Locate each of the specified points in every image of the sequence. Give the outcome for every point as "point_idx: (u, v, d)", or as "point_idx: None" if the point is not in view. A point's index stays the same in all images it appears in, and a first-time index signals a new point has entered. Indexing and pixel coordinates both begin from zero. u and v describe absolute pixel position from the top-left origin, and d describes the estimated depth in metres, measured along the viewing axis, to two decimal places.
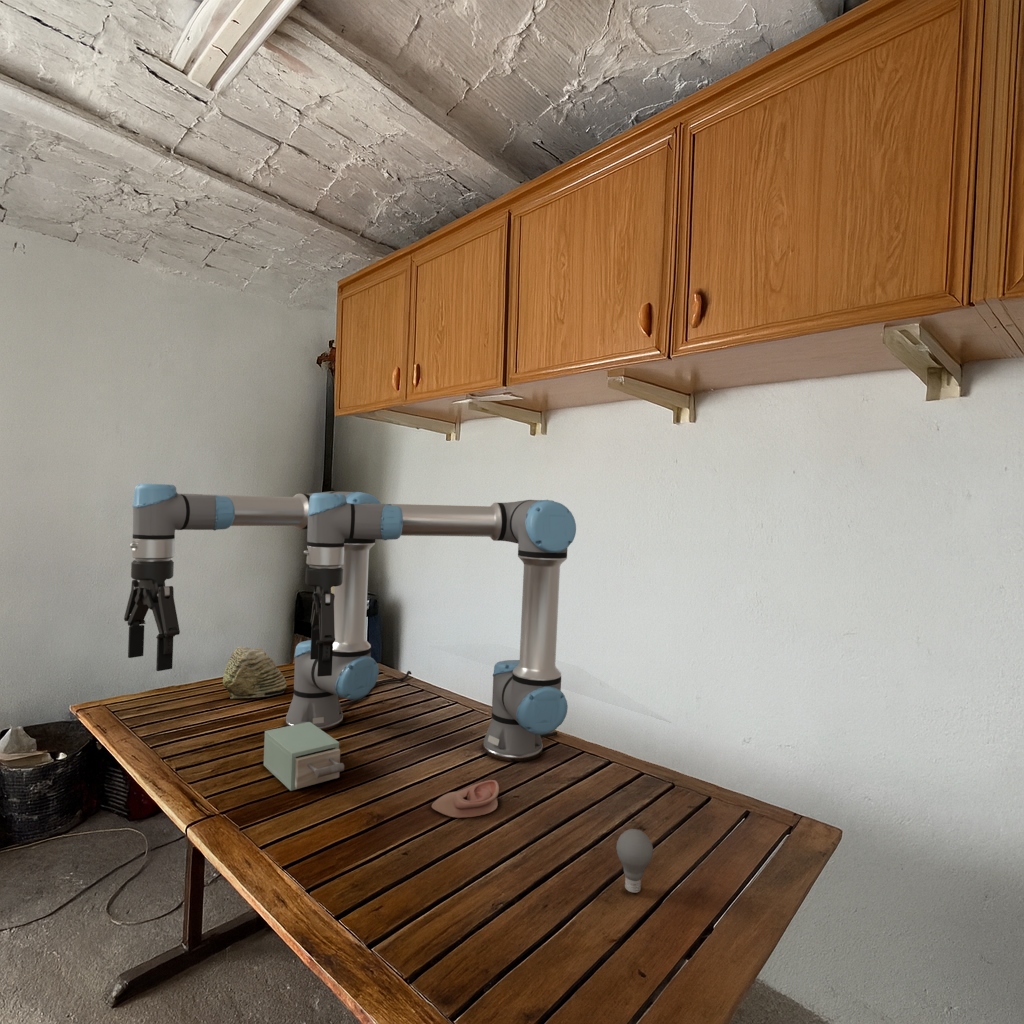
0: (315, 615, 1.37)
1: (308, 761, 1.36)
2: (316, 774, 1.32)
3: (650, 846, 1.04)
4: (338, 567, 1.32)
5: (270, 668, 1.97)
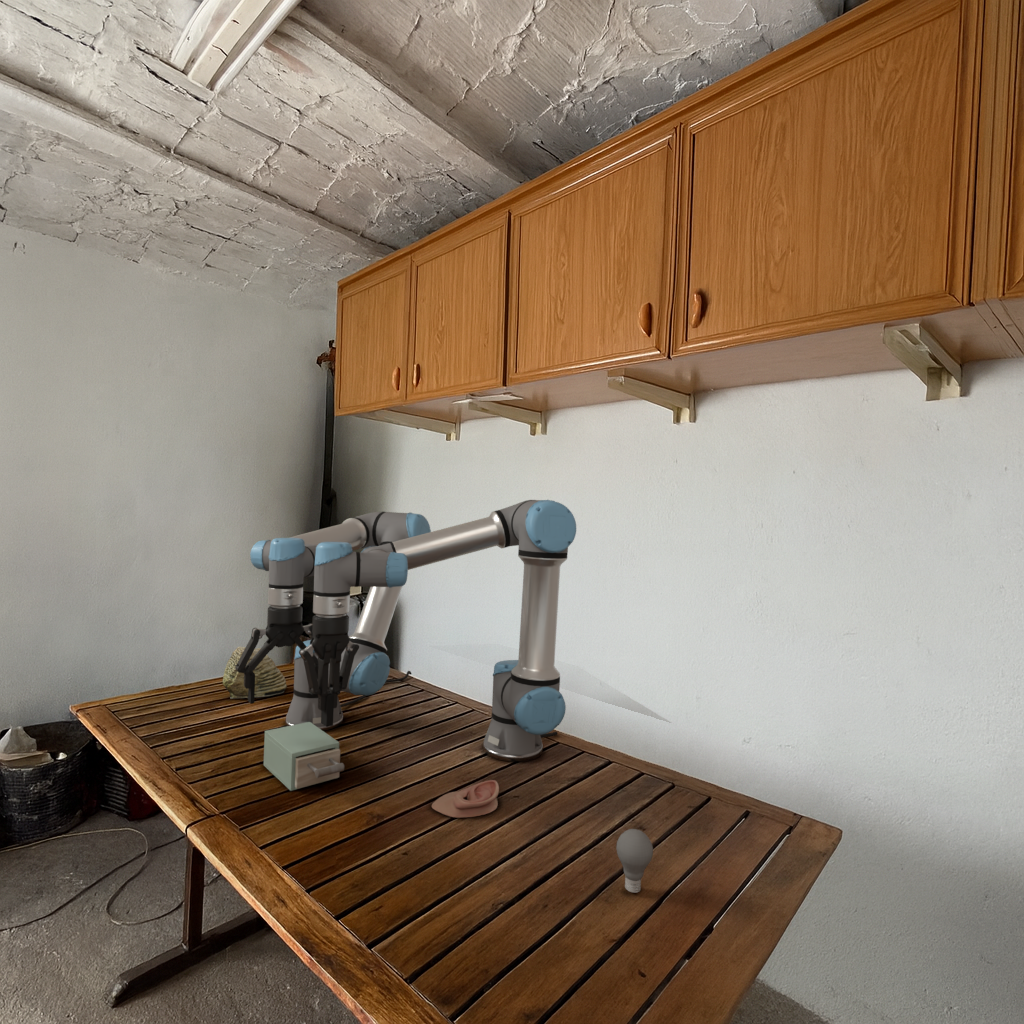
0: None
1: (308, 761, 1.36)
2: (316, 774, 1.32)
3: (650, 846, 1.04)
4: None
5: (270, 668, 1.97)
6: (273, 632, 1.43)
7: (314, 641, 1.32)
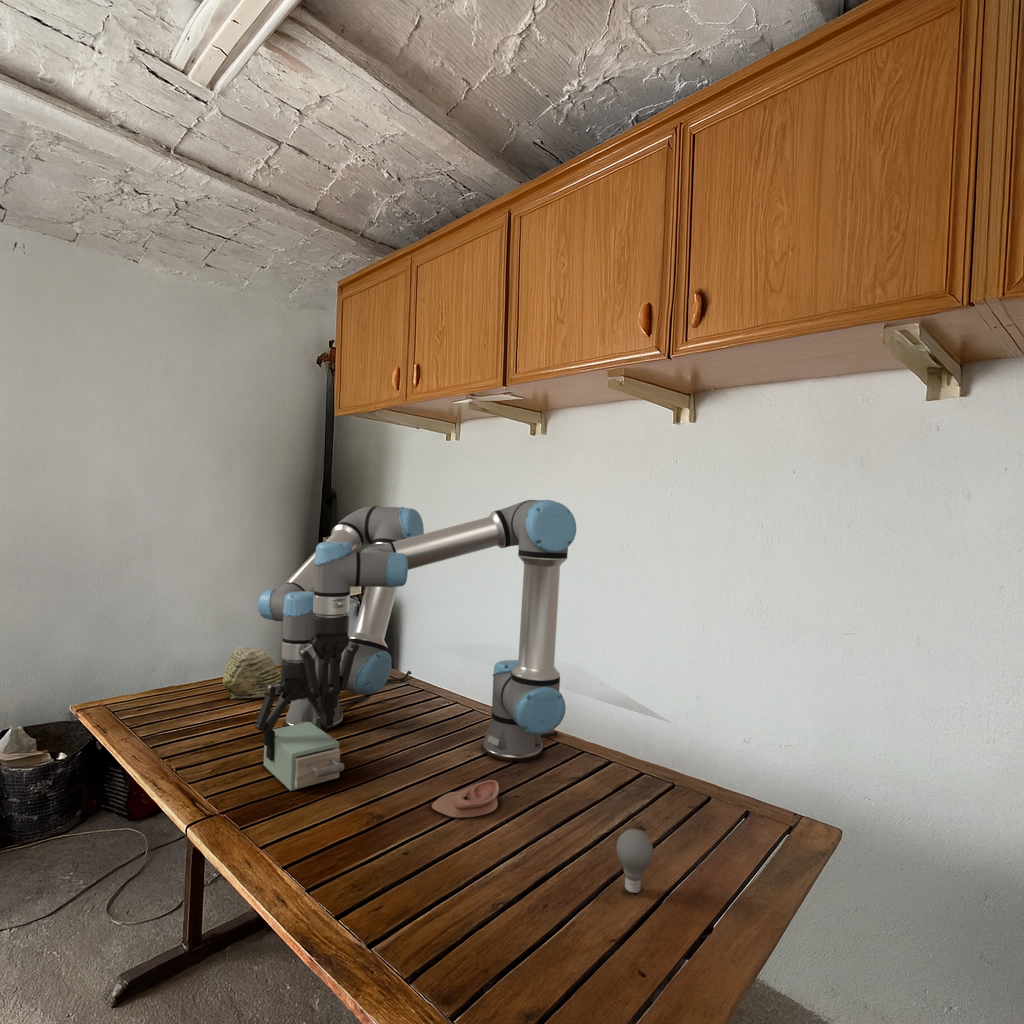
0: None
1: (308, 761, 1.36)
2: (316, 774, 1.32)
3: (650, 846, 1.04)
4: None
5: (270, 668, 1.97)
6: (288, 686, 1.45)
7: (314, 641, 1.32)
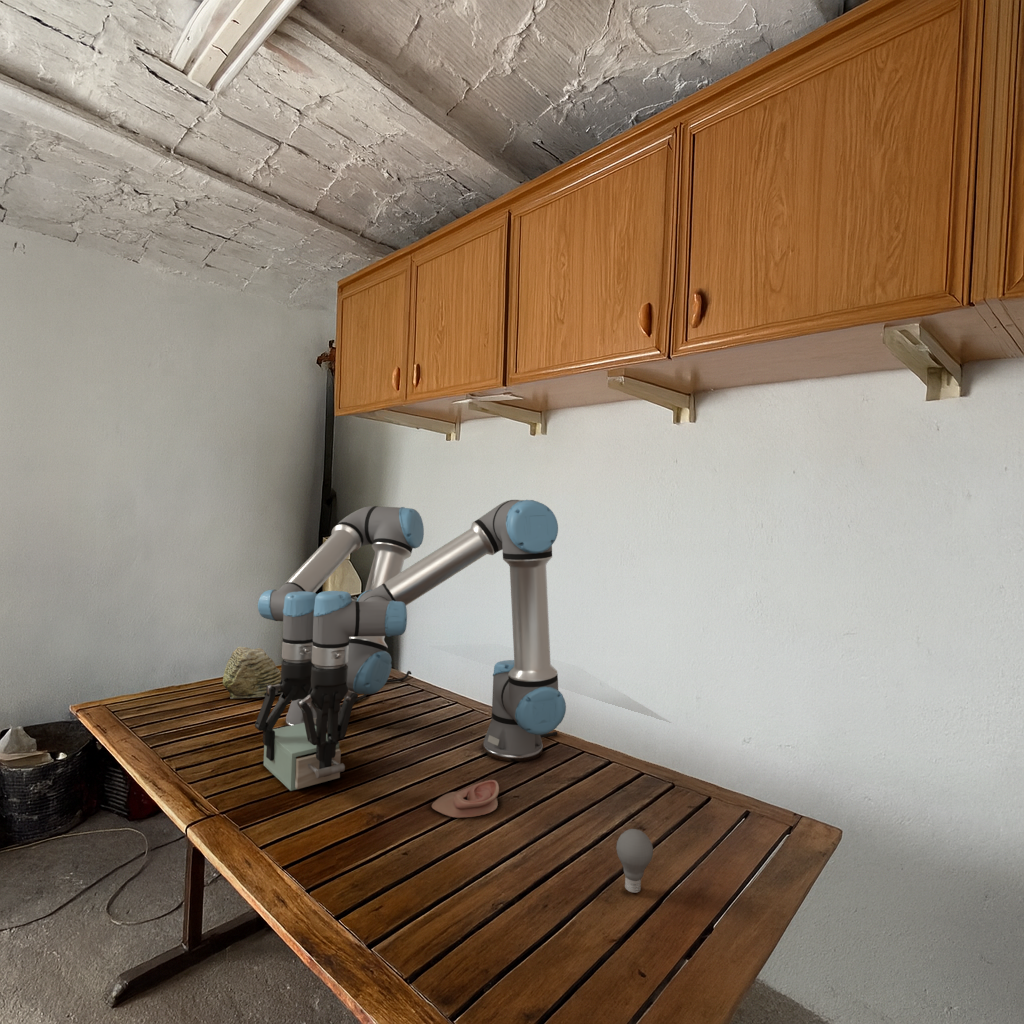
0: None
1: (309, 761, 1.36)
2: (316, 774, 1.32)
3: (650, 846, 1.04)
4: None
5: (270, 668, 1.97)
6: (288, 686, 1.45)
7: (312, 692, 1.32)
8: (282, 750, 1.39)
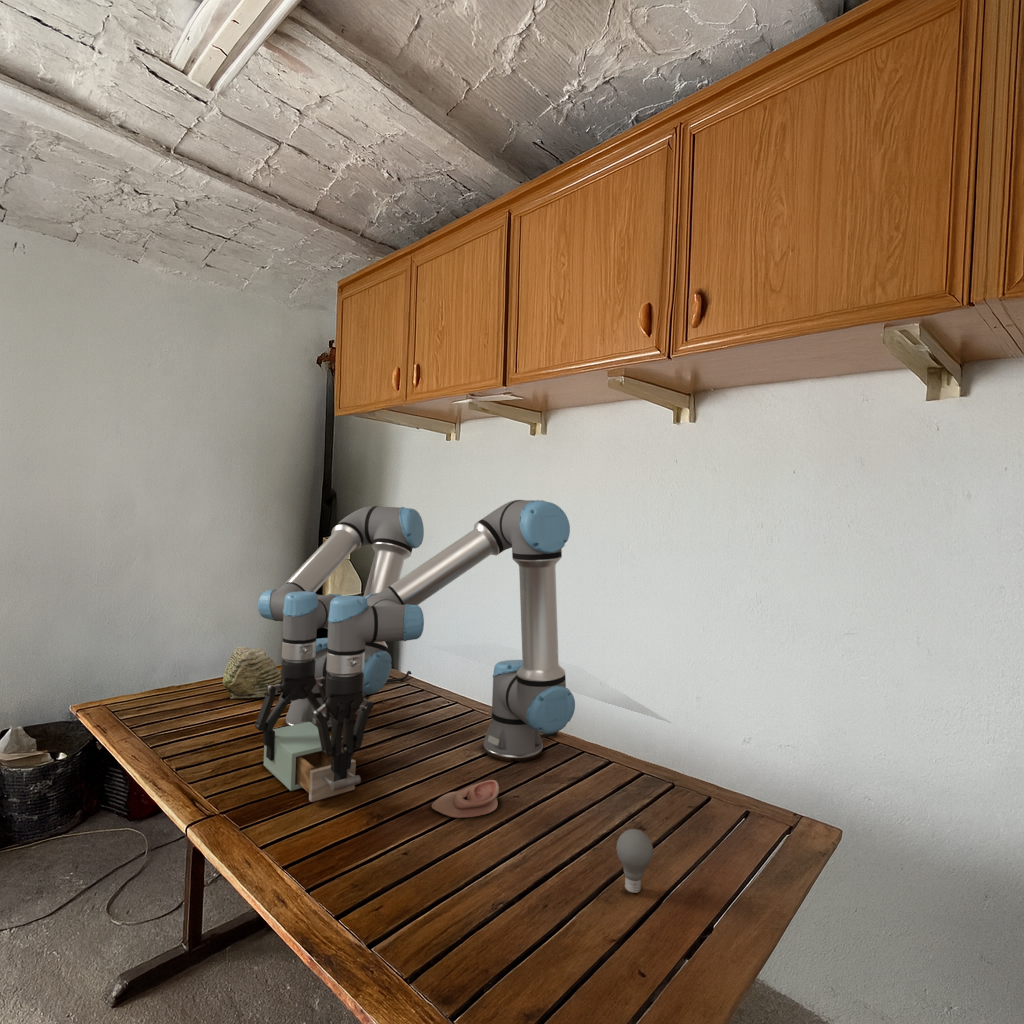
0: None
1: (323, 773, 1.31)
2: (332, 787, 1.27)
3: (650, 846, 1.04)
4: None
5: (270, 668, 1.97)
6: (288, 686, 1.45)
7: (327, 701, 1.27)
8: (282, 750, 1.39)
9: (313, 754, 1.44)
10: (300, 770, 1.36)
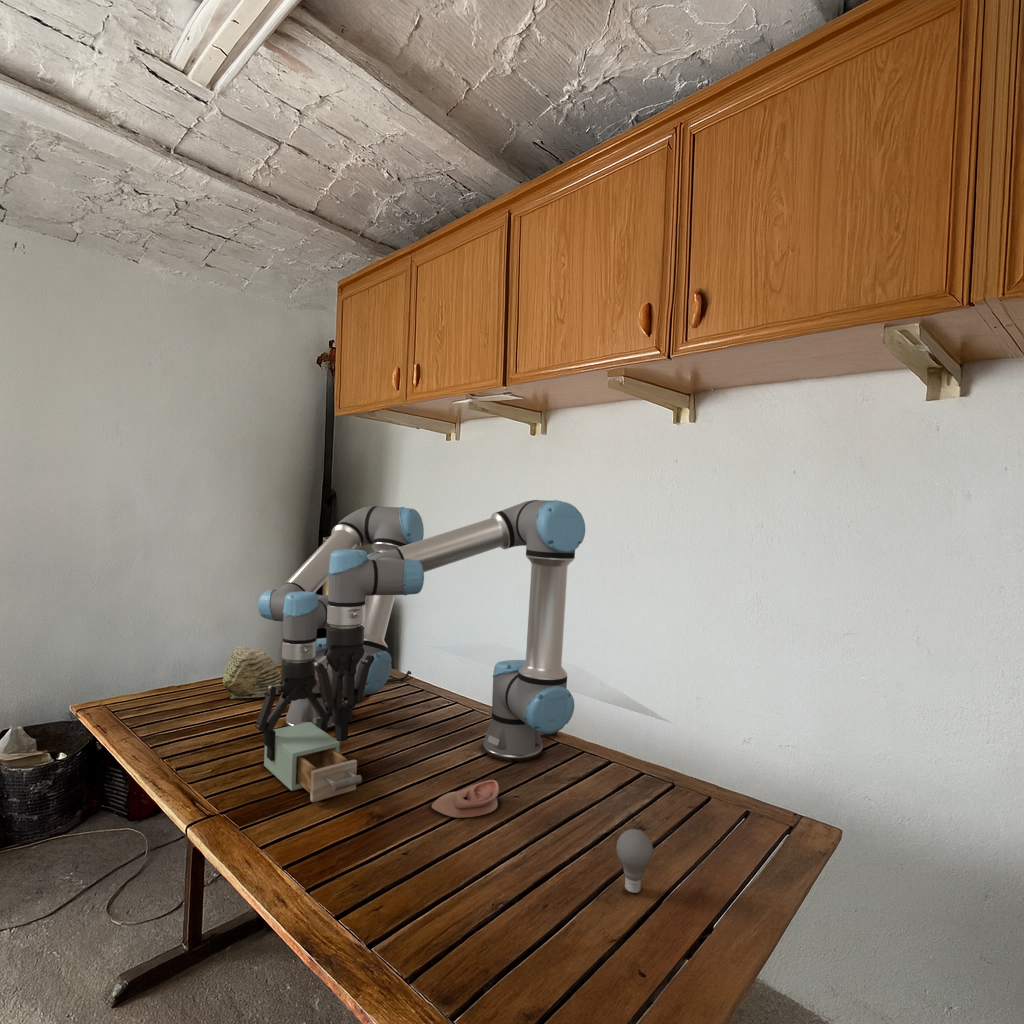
0: None
1: (324, 773, 1.31)
2: (333, 787, 1.26)
3: (650, 846, 1.04)
4: None
5: (270, 668, 1.97)
6: (288, 686, 1.45)
7: (328, 653, 1.27)
8: (283, 750, 1.39)
9: (314, 754, 1.44)
10: (301, 770, 1.35)
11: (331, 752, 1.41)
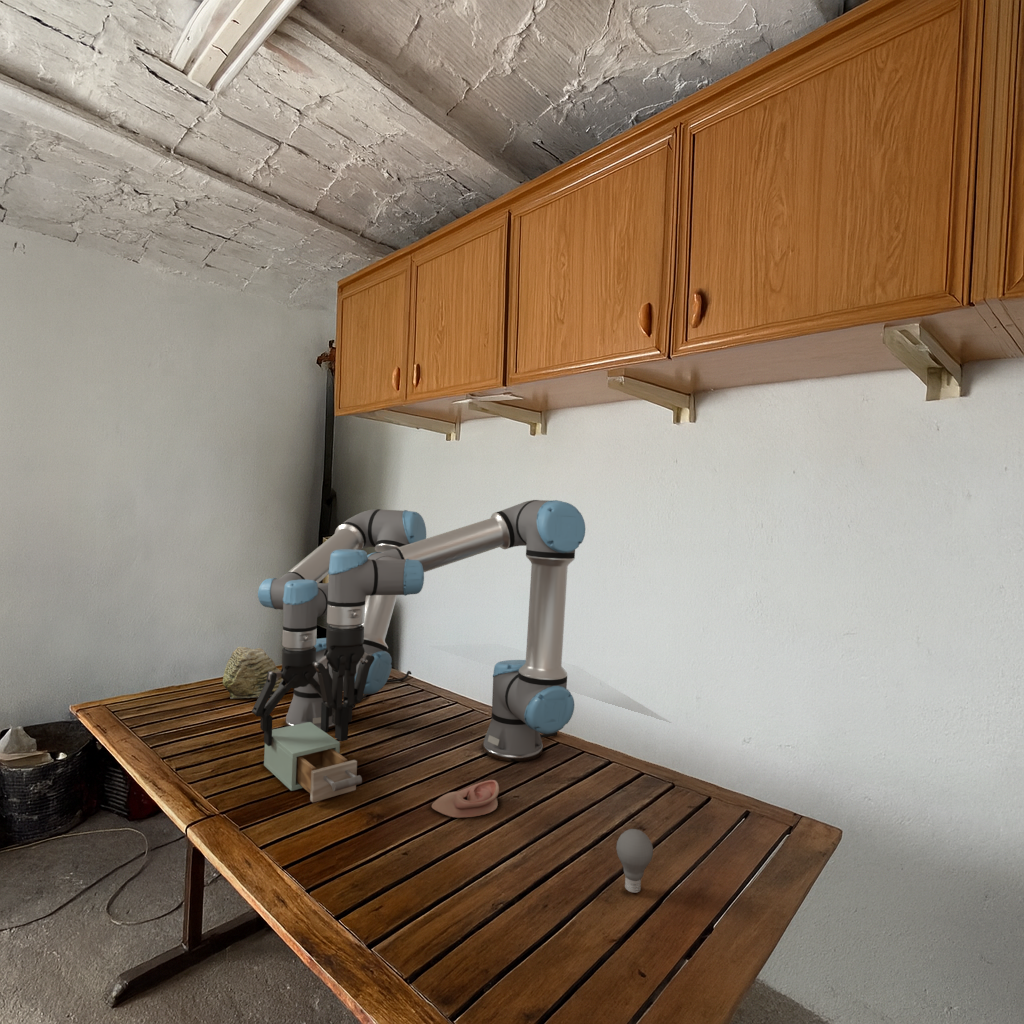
0: None
1: (324, 773, 1.31)
2: (333, 787, 1.26)
3: (650, 846, 1.04)
4: None
5: (270, 668, 1.97)
6: (289, 674, 1.45)
7: (328, 653, 1.27)
8: (283, 750, 1.39)
9: (314, 754, 1.44)
10: (301, 770, 1.35)
11: (331, 752, 1.41)
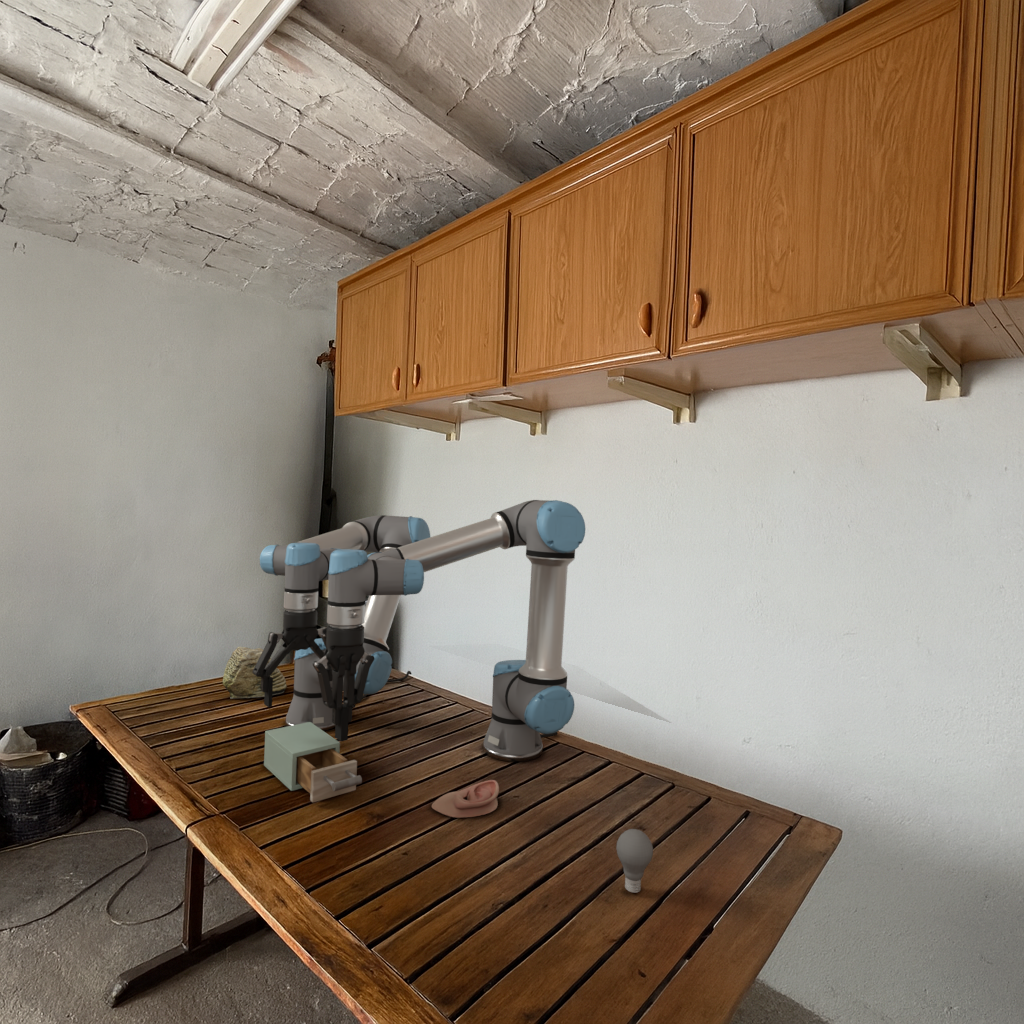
0: None
1: (324, 773, 1.31)
2: (333, 787, 1.26)
3: (650, 846, 1.04)
4: None
5: None
6: (290, 636, 1.45)
7: (328, 653, 1.27)
8: (283, 750, 1.39)
9: (314, 754, 1.44)
10: (301, 770, 1.35)
11: (331, 752, 1.41)
